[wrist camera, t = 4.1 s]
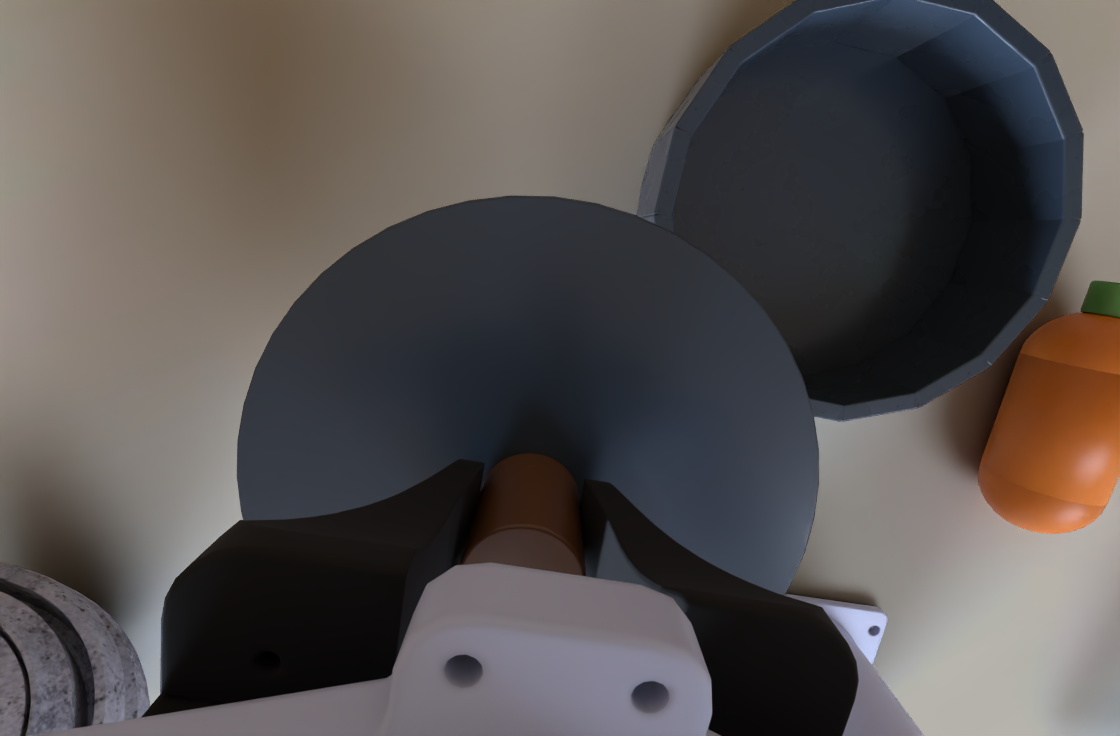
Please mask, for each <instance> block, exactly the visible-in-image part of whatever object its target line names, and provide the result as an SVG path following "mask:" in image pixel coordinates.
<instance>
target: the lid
mask: <svg viewBox="0 0 1120 736" xmlns="http://www.w3.org/2000/svg"><path fill="white" fill-rule="evenodd" d="M458 459H464V460H471V461H477V462H483V463H485V464H484V471H483V477H482V484H481V490H480V495H479V499H478V502H477V506H476V509H475V513H474V516H473V520H472V523H471V527H470V530H469V534H468V537H467V541H466V544H465V548H464V551H463V555H462V558H461V562H460V565H467V564H479V563H491V562H492V563H498V564H505V565H512V566H519V567H525V568H532V569H539V570H545V571H552V572H559V573H566V574H572V575H579V576H586V567H585V556H584V546H583V535H582V525H581V514H580V499H581V494H582V489H583V484H584V479H591V480H597V481H604V482H610V483H611V484H613V485H614V486H615V487H616V488H617V489H618V490H619V491H620V492H621V493H622V494H623V495H624V496H625V497H626V498H627V499H628V500H629V501H630V502H631V503H632V504H633V505H634V506H635V507H636V508H637V509H638V510H639V511H640V512H641V513H643V514H644V515H645V516H646V517H647V518H648V519H649V520H650V521H651V522H652V523H654V524H655V525H656V526H657V527H658V528H660V529H661V530H662V531H663V532H665V533H666V534H667V535H668V536H669V537H671V538H672V539H673V540H675V541H676V542H678V543H679V544H680V545H682V546H683V547H685V548H686V549H688V550H689V551H691V552H692V553H694V554H696V555H697V556H699V557H700V558H702V559H704V560H705V561H707V562H709V563H711V564H713V565H715V566H717V567H718V568H720V569H722V570H724V571H726V572H728V573H730V574H732V575H734V576H736V577H739V578H741V579H743V580H745V581H747V582H750V583H752V584H755V585H757V586H760V587H762V588H765V589H767V590H770V591H772V592H775V593H778V594H781V595H785V593H786V591H787V590H788V588H789V586H790V585H791V583H792V580H793V578H794V576H795V574H796V571H797V569H798V567H799V564H800V562H801V560H802V557H803V555H804V553H805V550H806V546H807V542H808V539H809V535H810V532H811V528H812V524H813V521H814V516H815V508H816V501H817V494H818V486H819V448H818V441H817V435H816V428H815V421H814V415H813V410H812V407H811V403H810V400H809V397H808V394H807V390H806V387H805V384H804V380H803V377H802V375H801V373H800V371H799V368H798V366H797V364H796V362H795V360H794V358H793V355H792V353H791V351H790V349H789V347H788V345H787V343H786V341H785V340H784V338H783V337H782V335H781V334H780V332H779V330H778V329H777V327H776V326H775V324H774V323H773V321H772V320H771V318H770V317H769V315H768V314H767V312H766V311H765V310H764V308H763V307H762V306H761V305H760V304H759V303H758V302H757V300H756V299H755V298H754V297H753V296H752V295H751V294H750V292H749V291H748V290H747V289H746V288H745V287H744V286H743V284H742V283H741V282H740V281H739V280H738V279H736V278H735V277H734V276H733V275H732V274H731V273H729V272H728V271H727V270H726V269H725V268H724V267H722V266H721V265H720V264H719V263H718V262H717V261H715V260H714V259H713V258H712V257H711V256H710V255H708V254H707V253H705V252H704V251H702V250H700V249H699V248H697V247H696V246H694V245H693V244H691V243H689V242H688V241H686V240H685V239H683V238H682V237H680V236H679V235H677V234H675V233H674V232H671V231H669V230H667V229H665V228H663V227H661V226H658V225H656V224H654V223H652V222H650V221H647V220H645V219H643V218H641V217H639V216H637V215H633V214H630V213H627V212H623V211H620V210H617V209H614V208H610V207H607V206H604V205H600V204H597V203H592V202H585V201H579V200H573V199H567V198H560V197H554V196H503V197H494V198H486V199H477V200H468V201H465V202H461V203H457V204H453V205H449V206H445V207H441V208H437V209H434V210H430V211H426V212H424V213H422V214H419V215H417V216H414V217H412V218H409V219H407V220H405V221H402V222H400V223H397V224H395V225H393V226H390V227H388V228H386V229H385V230H383V231H381V232H379V233H378V234H376V235H374V236H373V237H371V238H369V239H368V240H366V241H364V242H362V243H361V244H359V245H357V246H356V247H354V248H352V249H351V250H350V251H349V252H347V253H346V254H345V255H344V256H342V257H341V258H340V259H339V260H337V261H336V262H335V263H334V264H332V265H331V266H330V267H329V268H327V269H326V270H325V271H324V272H322V273H321V274H320V275H319V276H318V278H317V279H316V280H315V281H314V282H313V283H312V284H311V285H310V286H309V287H308V288H307V289H306V290H305V291H304V293H303V294H302V295H301V296H300V297H299V298H298V299H297V300H296V301H295V302H294V304H293V305H292V306H291V308H290V309H289V311H288V312H287V314H286V315H285V316H284V318H283V319H282V321H281V322H280V324H279V325H278V327H277V328H276V329H275V331H274V332H273V334H272V336H271V338H270V340H269V342H268V344H267V346H266V348H265V350H264V352H263V354H262V356H261V358H260V360H259V362H258V364H257V366H256V368H255V371H254V374H253V377H252V380H251V383H250V386H249V389H248V393H247V396H246V399H245V402H244V406H243V412H242V418H241V424H240V429H239V435H238V449H237V481H238V489H239V498H240V506H241V512H242V516H243V520H281V519H297V518H306V517H315V516H321V515H327V514H333V513H338V512H342V511H346V510H350V509H354V508H358V507H363V506H366V505H370V504H373V503H375V502H378V501H381V500H384V499H387V498H389V497H392V496H394V495H396V494H399V493H401V492H403V491H405V490H407V489H409V488H411V487H413V486H415V485H417V484H419V483H421V482H422V481H424V480H426V479H428V478H429V477H431V476H433V475H434V474H436V473H438V472H439V471H441V470H442V469H444V468H445V467H447V466H449V465H450V464H452V463H453V462H455V461H456V460H458Z"/></svg>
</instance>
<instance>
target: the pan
mask: <svg viewBox="0 0 1120 736" xmlns="http://www.w3.org/2000/svg"><path fill="white" fill-rule="evenodd" d="M1082 131H1083V129H1082V127H1081V124H1080V122H1079V120H1078V117H1077V115H1076V112H1075V110H1074V107H1073V105H1072V102H1071V100H1070V97H1069V95H1068V92H1067V90H1066V87H1065V85H1064V82H1063V80H1062V78H1061V75H1060V73H1059V70H1058V68H1057V65H1056V63H1055V60H1054V58H1053V55H1052V54H1051V53H1050V50H1049V49H1047V48H1046V47H1045V46H1044V45H1043V44H1042V43H1041V42H1040V41H1038V40H1037V39H1036V38H1035V37H1034V36H1033V35H1032V34H1031V33H1029V32H1028V31H1027V30H1026V29H1025V28H1024V27H1023V26H1021V25H1020V24H1019V23H1018V22H1017V21H1016V20H1015V19H1014V18H1012V17H1011V16H1010V15H1009V14H1008V13H1007V12H1006V11H1005V10H1003V9H1002V8H1001V7H1000V6H999V5H998V4H997V3H996V2H994V1H993V0H796V1H794V2H793V3H792V4H790V5H789V6H787V7H786V8H784V9H783V10H781V11H780V12H778V13H777V14H776V15H774V16H773V17H771V18H770V19H768V20H767V21H765V22H764V23H763V24H761V25H760V26H758V27H757V28H755V29H754V30H752V31H751V32H749V33H748V34H747V35H745V36H744V37H742V38H741V39H739V40H738V41H736V42H735V43H733V44H732V45H731V46H730V47H729V48H728V49H727V50H726V51H725V52H724V53H723V54H722V55H721V56H720V57H719V58H718V59H717V60H716V61H715V62H714V64H713V65H712V66H711V67H710V68H709V69H708V70H707V71H706V72H705V73H704V74H703V75H702V76H701V77H700V79H699V80H698V81H697V82H696V83H695V84H694V86H693V87H692V89H691V90H690V91H689V93H688V94H687V96H686V97H685V99H684V100H683V102H682V103H681V105H680V106H679V108H678V109H677V110H676V112H675V113H674V114H673V115H672V117H671V118H670V120H669V122H668V123H667V125H666V127H665V128H664V130H663V131H662V133H661V134H660V136H659V137H658V139H657V140H656V142H655V143H654V145H653V147H652V151H651V155H650V159H649V162H648V165H647V169H646V172H645V176H644V179H643V182H642V187H641V193H640V199H639V205H638V211H637V216H639V217H641V218H643V219H645V220H647V221H650V222H652V223H654V224H656V225H658V226H661V227H663V228H665V229H667V230H669V231H671V232H674V233H675V234H677V235H679V236H680V237H682V238H683V239H685V240H686V241H688V242H689V243H691V244H693V245H694V246H696V247H697V248H699V249H700V250H702V251H704V252H705V253H707V254H708V255H710V256H711V257H712V258H713V259H714V260H715V261H717V262H718V263H719V264H720V265H721V266H722V267H724V268H725V269H726V270H727V271H728V272H729V273H731V274H732V275H733V276H734V277H735V278H736V279H738V280H739V281H740V282H741V283H742V284H743V286H744V287H745V288H746V289H747V290H748V291H749V292H750V294H751V295H752V296H753V297H754V298H755V299H756V300H757V302H758V303H759V304H760V305H761V306H762V307H763V308H764V310H765V311H766V312H767V314H768V315H769V317H770V318H771V320H772V321H773V323H774V324H775V326H776V327H777V329H778V330H779V332H780V334H781V335H782V337H783V338H784V340H785V341H786V343H787V345H788V347H789V349H790V351H791V353H792V355H793V358H794V360H795V362H796V364H797V366H798V368H799V371H800V373H801V375H802V377H803V380H804V384H805V387H806V390H807V394H808V397H809V400H810V403H811V407H812V410H813V415H814V417H819V418H824V419H829V420H834V421H839V422H841V421H849V420H854V419H860V418H866V417H871V416H877V415H882V414H888V413H894V412H899V411H905V410H910V409H916V408H918V407H922V406H923V405H925V404H927V403H929V402H930V401H932V400H934V399H935V398H937V397H939V396H941V395H942V394H944V393H946V392H948V391H949V390H951V389H953V388H955V387H956V386H958V385H960V384H962V383H963V382H965V381H967V380H968V379H970V378H972V377H974V376H975V375H977V374H979V373H981V372H982V371H984V370H986V369H988V368H989V367H990V366H991V365H993V364H994V362H995V361H996V360H997V359H998V358H999V357H1000V356H1001V354H1002V353H1003V352H1004V351H1005V350H1006V349H1007V348H1008V346H1009V345H1010V344H1011V343H1012V342H1013V341H1014V340H1015V338H1016V337H1017V336H1018V335H1019V334H1020V333H1021V332H1022V330H1023V329H1024V328H1025V327H1026V326H1027V325H1028V324H1029V322H1030V321H1031V320H1032V319H1033V318H1034V317H1035V316H1036V314H1037V313H1038V312H1039V311H1040V310H1041V309H1042V308H1043V306H1044V305H1045V304H1046V303H1047V300H1049V298H1050V295H1051V293H1052V290H1053V288H1054V285H1055V283H1056V280H1057V278H1058V275H1059V273H1060V271H1061V268H1062V266H1063V263H1064V261H1065V258H1066V256H1067V253H1068V251H1069V248H1070V246H1071V244H1072V241H1073V239H1074V236H1075V234H1076V231H1077V229H1078V226H1079V224H1080V219H1081V214H1082V175H1083V136H1084V134H1083V133H1082Z"/></svg>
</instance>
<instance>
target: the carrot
mask: <svg viewBox="0 0 1120 736" xmlns="http://www.w3.org/2000/svg"><path fill="white" fill-rule="evenodd" d="M1081 312H1083V313H1075V314H1070V315H1065V316H1062V317H1059V318H1056V319H1054V320H1051V321H1049V322H1048V323H1046V324H1044V325H1042V326H1041V327H1039V328H1038V329H1037V330H1036V331H1034V332H1033V333H1032V334H1031V335H1030V336H1029V338H1028V339H1027V340H1026V341H1025V343H1024V345H1023V347H1022V349H1021V351H1020V353H1019V356H1018V358H1017V361H1016V364H1015V367H1014V370H1013V372H1012V375H1011V378H1010V381H1009V384H1008V386H1007V389H1006V392H1005V395H1004V398H1003V400H1002V403H1001V406H1000V409H999V412H998V414H997V417H996V420H995V423H994V426H993V428H992V431H991V434H990V437H989V440H988V442H987V445H986V448H985V451H984V454H983V456H982V459H981V462H980V466H979V471H978V483H979V486H980V490H981V492H982V494H983V496H984V498H985V500H986V502H987V503H988V504H989V505H990V507H991V508H992V509H993V510H994V511H995V512H996V513H997V514H998V515H1000V516H1001V517H1002V518H1004V519H1005V520H1006V521H1008V522H1010V523H1012V524H1014V525H1016V526H1018V527H1021V528H1023V529H1026V530H1030V531H1033V532H1038V533H1049V534H1059V533H1066V532H1071V531H1075V530H1077V529H1080V528H1083V527H1085V526H1087V525H1088V524H1090V523H1092V522H1093V521H1095V520H1096V519H1097V518H1098V517H1099V516H1100V515H1101V514H1102V512H1103V510H1104V509H1105V507H1106V505H1107V504H1108V502H1109V499H1110V497H1111V494H1112V492H1113V490H1114V487H1115V485H1116V482H1117V480H1118V478H1119V475H1120V283H1115V282H1106V281H1092V282H1091V283H1090V286H1089V289H1088V291H1087V294H1086V297H1085V299H1084V302H1083V305H1082V307H1081Z"/></svg>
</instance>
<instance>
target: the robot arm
mask: <svg viewBox="0 0 1120 736" xmlns="http://www.w3.org/2000/svg"><path fill="white" fill-rule="evenodd" d="M484 464H485V463H483V462H477V461H471V460H464V459H458V460H456V461H455V462H453V463H452V464H450V465H449V466H447V467H445V468H444V469H442V470H441V471H439V472H438V473H436V474H434V475H433V476H431V477H429V478H428V479H426V480H424V481H422V482H421V483H419V484H417V485H415V486H413V487H411V488H409V489H407V490H405V491H403V492H401V493H399V494H396V495H394V496H392V497H389V498H387V499H384V500H381V501H378V502H375V503H373V504H370V505H366V506H363V507H358V508H354V509H350V510H346V511H342V512H338V513H333V514H327V515H321V516H315V517H306V518H297V519H281V520H240V521H239V522H237V523H236V524H235V525H233V526H232V527H231V528H230V529H229V530H228V531H226V532H225V533H224V534H223V535H222V536H220V537H219V538H218V539H217V540H216V541H215V542H214V543H213V544H212V545H211V546H210V547H208V548H207V549H206V550H205V551H204V552H203V553H202V554H201V555H200V556H199V557H198V558H197V559H196V560H195V561H193V562H192V563H191V564H190V565H189V566H188V567H187V568H186V569H185V570H184V571H183V572H182V573H181V574H180V575H179V576H178V577H177V578H176V579H175V580H174V582H173V584H172V586H171V588H170V590H169V591H168V593H167V595H166V597H165V601H164V607H163V613H162V618H161V679H160V696H159V697H158V698H157V699H156V700H155V702H154V703H153V704H152V705H151V706H150V707H149V709H148V710H147V711H146V712H145V713H144V714H143V716H142V717H141V718H136V719H129V720H123V721H117V722H111V723H105V724H99V725H92V726H86V727H80V728H74V729H68V730H61V731H55V732H49V733H43V734H37V735H31V736H924V735H923V733H922V732H921V731H920V729H919V728H918V727H917V725H916V724H915V722H914V721H913V720H912V718H911V717H910V716H909V714H908V713H907V712H906V710H905V709H904V708H903V706H902V705H901V704H900V702H899V701H898V699H897V698H896V697H895V695H894V694H893V693H892V691H891V690H890V689H889V687H888V686H887V685H886V683H885V682H884V680H883V679H882V678H881V676H880V675H879V674H878V672H877V671H876V670H875V668H874V667H873V666H872V665H873V662H874V659H875V656H876V654H877V651H878V648H879V645H880V642H881V639H882V636H883V633H884V630H885V627H886V624H887V620H888V618H887V615H886V614H885V613H884V611H883V610H882V609H881V608H879V607H875V606H868V605H861V604H854V603H847V602H840V601H833V600H826V599H819V598H812V597H805V596H797V595H790V594H785V595H781V594H778V593H775V592H772V591H770V590H767V589H765V588H762V587H760V586H757V585H755V584H752V583H750V582H747V581H745V580H743V579H741V578H739V577H736V576H734V575H732V574H730V573H728V572H726V571H724V570H722V569H720V568H718V567H717V566H715V565H713V564H711V563H709V562H707V561H705V560H704V559H702V558H700V557H699V556H697V555H696V554H694V553H692V552H691V551H689V550H688V549H686V548H685V547H683V546H682V545H680V544H679V543H678V542H676V541H675V540H673V539H672V538H671V537H669V536H668V535H667V534H666V533H665V532H663V531H662V530H661V529H660V528H658V527H657V526H656V525H655V524H654V523H652V522H651V521H650V520H649V519H648V518H647V517H646V516H645V515H644V514H643V513H641V512H640V511H639V510H638V509H637V508H636V507H635V506H634V505H633V504H632V503H631V502H630V501H629V500H628V499H627V498H626V497H625V496H624V495H623V494H622V493H621V492H620V491H619V490H618V489H617V488H616V487H615V486H614V485H613V484H611V483H610V482H604V481H597V480H591V479H584V484H583V489H582V494H581V499H580V514H581V525H582V535H583V546H584V556H585V567H586V576H579V575H572V574H566V573H559V572H552V571H545V570H539V569H532V568H525V567H519V566H512V565H505V564H498V563H492V562H491V563H479V564H467V565H460V562H461V558H462V555H463V551H464V548H465V544H466V541H467V537H468V534H469V530H470V527H471V523H472V520H473V516H474V513H475V509H476V506H477V502H478V499H479V495H480V490H481V484H482V477H483V471H484ZM872 626H874V628H872V629H871V630H869V628H870V627H872Z"/></svg>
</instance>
